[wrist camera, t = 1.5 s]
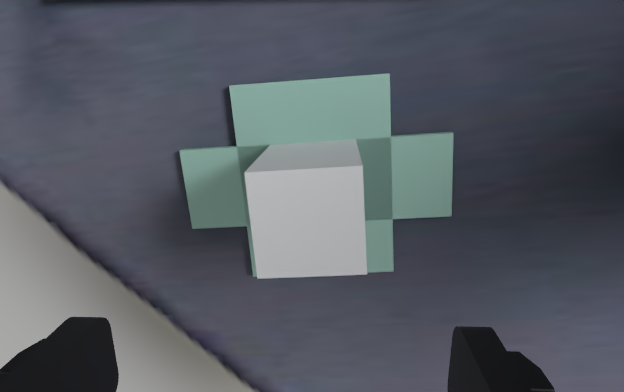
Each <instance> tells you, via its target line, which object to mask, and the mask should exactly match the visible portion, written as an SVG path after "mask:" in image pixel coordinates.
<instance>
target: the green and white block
mask: <svg viewBox="0 0 624 392" xmlns="http://www.w3.org/2000/svg"><path fill="white" fill-rule="evenodd" d="M229 89H230V97H231V105H232V113H233V121H234V129H235V137H236V145H237V146H223V147H208V148H192V149H182V150H180V151H179V152H180V158H181V164H182V170H183V176H184V182H185V188H186V194H187V200H188V206H189V212H190V218H191V224H192V229H201V228H222V227H243V226H247V232H248V240H249V248H250V256H251V263H252V271H253V277H257V279H263V278H290V277H316V276H342V275H367V272H393V271H394V264H393V219H408V218H429V217H449V216H452V177H453V133H452V132H441V133H425V134H410V135H394V136H391V114H390V73H388V74H375V75H362V76H349V77H336V78H323V79H310V80H296V81H283V82H270V83H257V84H244V85H231V86H229Z"/></svg>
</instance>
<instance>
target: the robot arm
mask: <svg viewBox="0 0 624 392" xmlns="http://www.w3.org/2000/svg"><path fill="white" fill-rule="evenodd" d="M117 385H118V367H117V362H116V356H115V350H114V344H113V338H112V332H111V327H110V324H109V322H108V320H107V319H106V318H99V317H97V318H96V317H70V318H68V319H67V320H66V321H64V322H63V323H62V324H61V325H60V326H59V327H58V328H57V329H56V330H55V331H54V332H53V333H51V335H49V336H48V337H47V338H46V339H42V340H41V341H39V342H38V343H35V344H34V345H32V346H30V347H28V348H27V349H25V350H23V351H22V352H20V353H18V354H17V355H16V356H15V357H14V358H12V359H11V360H10V361H9V362H8V363H7V364H6V365H5V366H4V367H2V368H1V369H0V392H116V389H117ZM448 392H555V391H554V388H553V386H552V385H551V383H550V382H549V380H548V379H547V377H546V376H545V375H544V373H543V372H542V370H541V369H540V368H539V367H538V366H536V365H535V364H534V363H533V362H531V361H530V360H529V359H527V358H526V357H525V356H524V355H522V354H521V353H520V352H510V351H506V349H505V347H504V346H503V344H502V343H501V341H500V339H499V338H498V336H497V334H496V333H495V331H494V330H493V329H492V328H491V327H455V329H454V331H453V337H452V347H451V356H450V366H449V376H448Z"/></svg>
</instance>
